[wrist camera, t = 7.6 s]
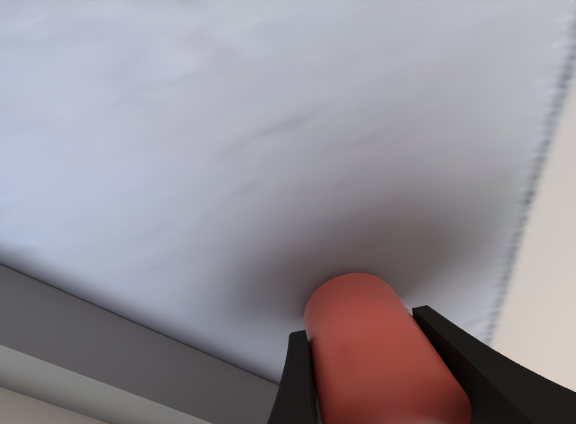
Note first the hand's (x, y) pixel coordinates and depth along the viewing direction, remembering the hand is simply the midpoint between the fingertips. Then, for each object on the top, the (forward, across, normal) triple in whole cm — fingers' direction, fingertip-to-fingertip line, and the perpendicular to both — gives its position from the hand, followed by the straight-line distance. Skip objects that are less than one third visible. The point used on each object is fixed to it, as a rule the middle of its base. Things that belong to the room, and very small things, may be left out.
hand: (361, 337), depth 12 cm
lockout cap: (+2, 0, 0) cm, 2 cm away
